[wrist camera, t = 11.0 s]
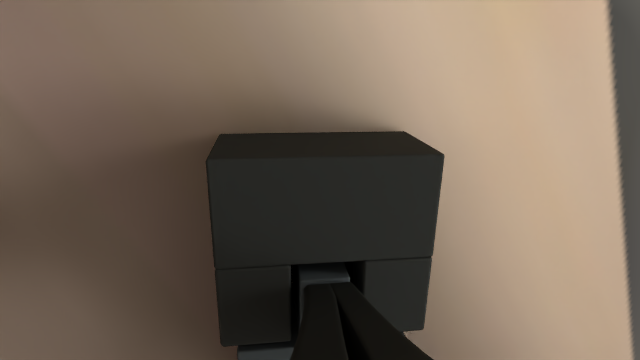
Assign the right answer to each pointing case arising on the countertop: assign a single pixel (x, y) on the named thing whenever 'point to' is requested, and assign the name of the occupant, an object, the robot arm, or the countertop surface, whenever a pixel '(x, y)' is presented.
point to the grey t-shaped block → (296, 309)
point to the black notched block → (320, 223)
